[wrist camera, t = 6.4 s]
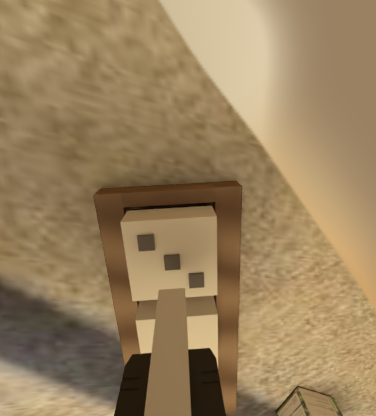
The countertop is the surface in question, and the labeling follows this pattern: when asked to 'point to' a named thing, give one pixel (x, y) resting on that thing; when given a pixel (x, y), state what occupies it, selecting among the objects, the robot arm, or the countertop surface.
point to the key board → (226, 262)
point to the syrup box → (308, 404)
